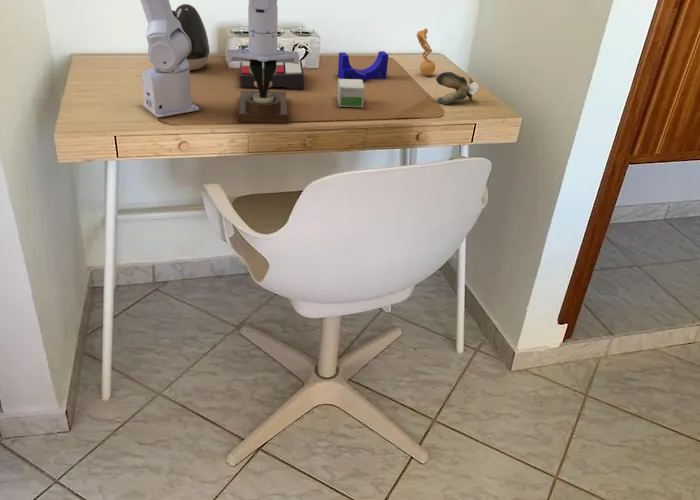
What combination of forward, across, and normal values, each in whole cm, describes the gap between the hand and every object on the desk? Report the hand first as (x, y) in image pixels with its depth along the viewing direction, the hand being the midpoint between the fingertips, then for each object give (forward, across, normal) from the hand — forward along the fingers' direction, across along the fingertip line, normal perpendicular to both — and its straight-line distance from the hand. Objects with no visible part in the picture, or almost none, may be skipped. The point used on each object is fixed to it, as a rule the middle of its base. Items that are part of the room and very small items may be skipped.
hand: (263, 96), depth 141 cm
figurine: (+5, +41, +32) cm, 52 cm away
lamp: (+1, 0, +8) cm, 9 cm away
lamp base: (+5, 0, +4) cm, 6 cm away
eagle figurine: (+5, +45, +13) cm, 48 cm away
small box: (+5, +20, +10) cm, 22 cm away
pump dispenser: (+5, -18, +32) cm, 37 cm away
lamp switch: (+2, 0, 0) cm, 2 cm away
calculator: (+5, +2, +23) cm, 24 cm away
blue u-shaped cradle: (+5, +25, +28) cm, 38 cm away
